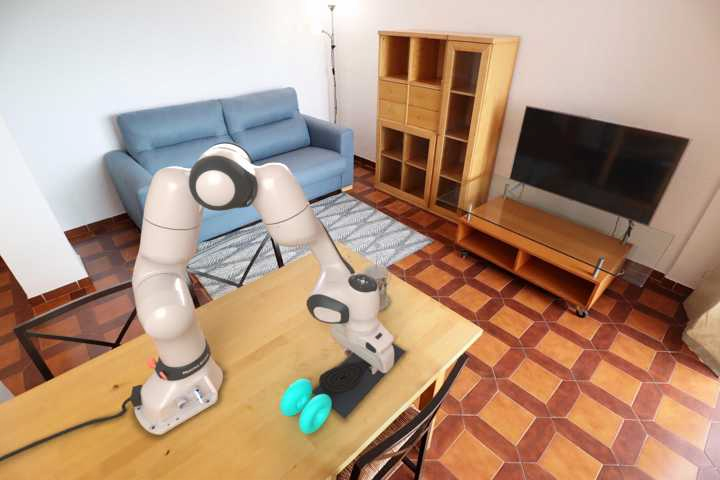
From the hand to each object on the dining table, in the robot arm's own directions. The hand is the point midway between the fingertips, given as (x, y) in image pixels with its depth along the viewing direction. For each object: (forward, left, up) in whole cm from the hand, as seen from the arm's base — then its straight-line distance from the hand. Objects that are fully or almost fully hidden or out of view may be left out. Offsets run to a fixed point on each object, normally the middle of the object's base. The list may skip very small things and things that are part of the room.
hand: (360, 362), depth 104 cm
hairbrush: (0, 0, -4) cm, 4 cm away
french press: (+28, +15, -5) cm, 32 cm away
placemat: (+1, 0, -5) cm, 5 cm away
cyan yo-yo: (-19, +2, -5) cm, 20 cm away
